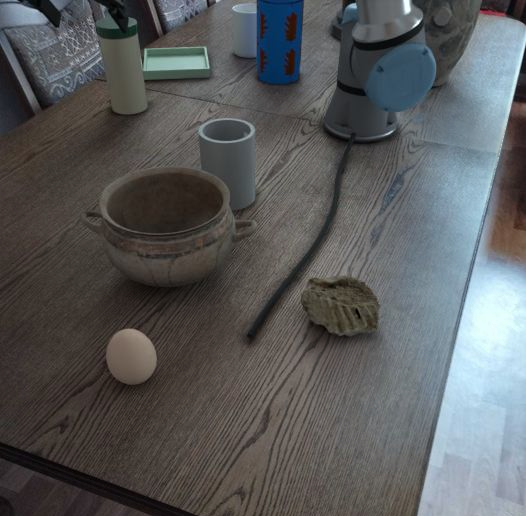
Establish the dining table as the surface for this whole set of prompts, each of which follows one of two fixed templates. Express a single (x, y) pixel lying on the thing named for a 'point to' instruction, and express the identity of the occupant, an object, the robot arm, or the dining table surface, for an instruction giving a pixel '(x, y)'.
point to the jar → (124, 74)
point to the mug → (245, 30)
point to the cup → (230, 157)
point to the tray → (176, 63)
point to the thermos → (279, 40)
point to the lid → (115, 28)
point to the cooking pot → (167, 225)
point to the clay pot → (448, 31)
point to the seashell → (341, 305)
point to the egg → (131, 357)
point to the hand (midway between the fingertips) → (92, 23)
